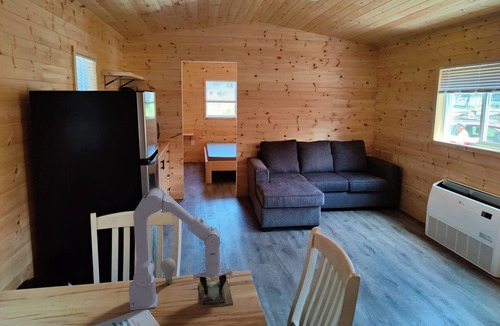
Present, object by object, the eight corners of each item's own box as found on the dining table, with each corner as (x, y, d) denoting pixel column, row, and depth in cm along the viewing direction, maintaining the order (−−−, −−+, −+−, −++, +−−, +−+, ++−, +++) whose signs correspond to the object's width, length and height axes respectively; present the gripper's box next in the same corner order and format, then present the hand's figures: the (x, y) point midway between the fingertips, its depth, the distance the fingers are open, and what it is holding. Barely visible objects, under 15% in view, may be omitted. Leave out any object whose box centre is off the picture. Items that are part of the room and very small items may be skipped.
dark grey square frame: (202, 305, 134) (202, 302, 133) (201, 292, 142) (201, 289, 141) (225, 302, 135) (225, 299, 135) (222, 290, 143) (222, 287, 143)
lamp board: (200, 308, 133) (200, 306, 133) (198, 284, 148) (198, 283, 148) (233, 304, 135) (233, 303, 135) (227, 281, 150) (227, 280, 150)
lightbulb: (168, 289, 145) (167, 264, 142) (158, 284, 148) (157, 259, 146) (179, 282, 149) (178, 258, 147) (170, 277, 153) (168, 254, 151)
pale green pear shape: (206, 293, 141) (206, 281, 140) (218, 291, 142) (218, 280, 141) (207, 302, 135) (207, 290, 134) (220, 300, 136) (220, 288, 135)
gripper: (193, 268, 130) (194, 301, 133) (233, 264, 132) (233, 297, 135) (192, 258, 137) (193, 290, 140) (230, 255, 139) (230, 287, 142)
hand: (213, 293), depth 138 cm, fingers closed on pale green pear shape, 5 cm apart
